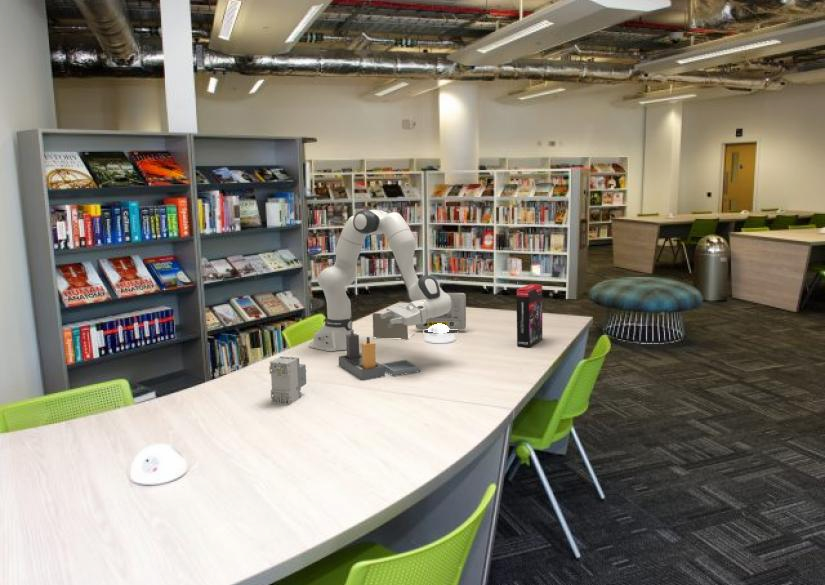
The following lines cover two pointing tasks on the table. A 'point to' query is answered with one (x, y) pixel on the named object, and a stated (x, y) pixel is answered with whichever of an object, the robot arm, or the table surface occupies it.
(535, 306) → the graphics card box
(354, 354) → the twin plug
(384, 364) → the tray
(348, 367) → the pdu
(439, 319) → the network device
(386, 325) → the laptop
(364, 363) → the plug
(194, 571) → the table surface
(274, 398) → the circuit breaker
